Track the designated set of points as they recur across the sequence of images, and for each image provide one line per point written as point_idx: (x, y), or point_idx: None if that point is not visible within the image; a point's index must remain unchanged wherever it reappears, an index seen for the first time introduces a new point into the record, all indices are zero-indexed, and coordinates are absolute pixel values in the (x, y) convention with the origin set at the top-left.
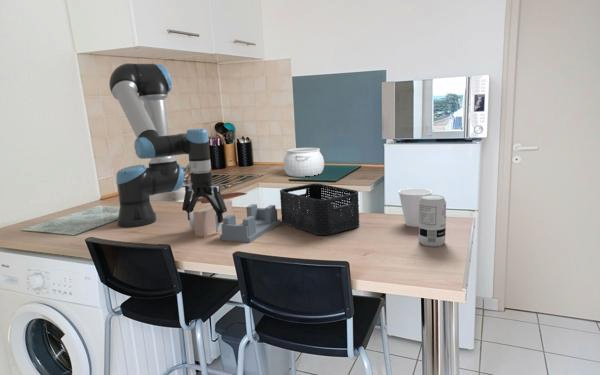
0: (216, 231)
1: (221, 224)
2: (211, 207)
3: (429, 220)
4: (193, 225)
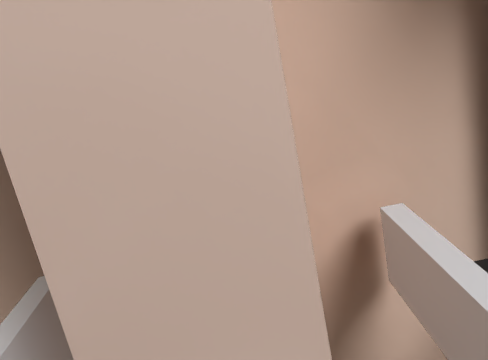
0: (394, 282)
1: (430, 227)
2: (238, 296)
3: None
4: (61, 340)
